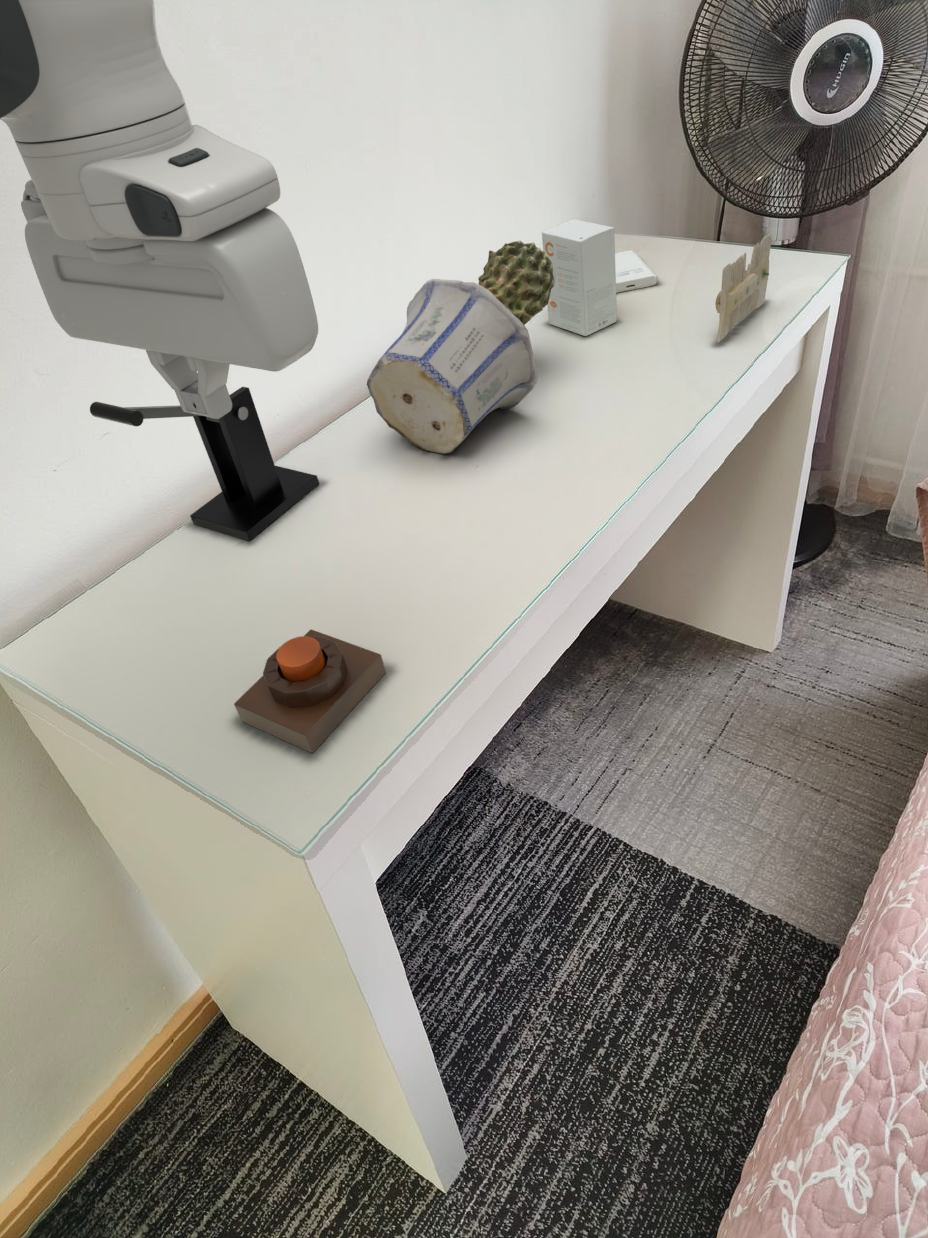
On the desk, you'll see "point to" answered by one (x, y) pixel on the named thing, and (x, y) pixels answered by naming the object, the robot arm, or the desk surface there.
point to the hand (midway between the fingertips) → (209, 411)
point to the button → (300, 658)
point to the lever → (137, 413)
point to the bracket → (246, 473)
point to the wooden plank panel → (743, 287)
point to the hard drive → (632, 272)
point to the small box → (581, 276)
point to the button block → (311, 694)
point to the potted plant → (463, 350)
